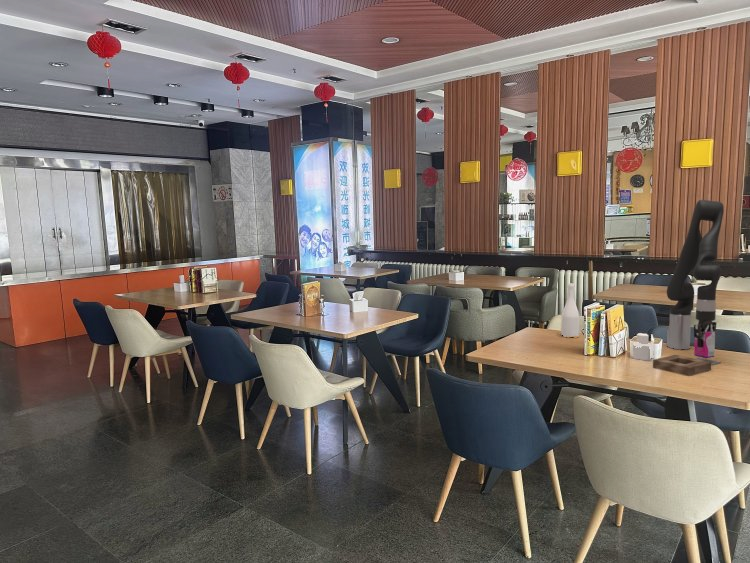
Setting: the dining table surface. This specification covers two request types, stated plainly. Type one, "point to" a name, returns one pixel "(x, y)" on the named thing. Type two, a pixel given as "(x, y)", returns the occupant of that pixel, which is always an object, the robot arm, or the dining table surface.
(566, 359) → the dining table surface
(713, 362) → the mat
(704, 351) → the supplement box
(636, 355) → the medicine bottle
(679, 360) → the frame
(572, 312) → the wine bottle
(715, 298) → the robot arm
